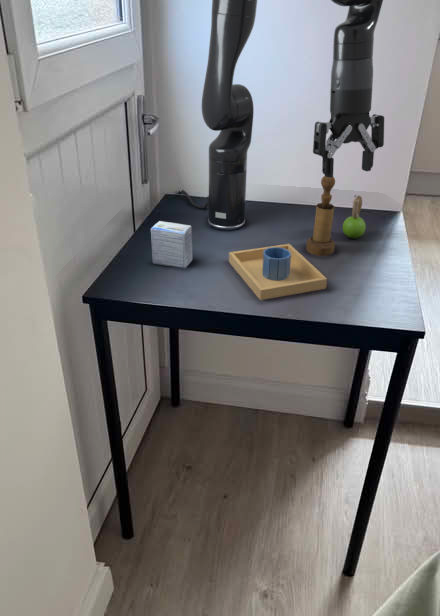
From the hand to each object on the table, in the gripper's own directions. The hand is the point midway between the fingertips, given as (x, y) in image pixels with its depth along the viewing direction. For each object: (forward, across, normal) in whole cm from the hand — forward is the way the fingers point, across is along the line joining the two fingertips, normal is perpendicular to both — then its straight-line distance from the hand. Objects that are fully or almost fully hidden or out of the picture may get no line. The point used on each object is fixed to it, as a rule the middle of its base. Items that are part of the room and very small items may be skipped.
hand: (347, 173), depth 111 cm
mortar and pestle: (+21, -1, -12) cm, 24 cm away
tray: (+21, +14, -4) cm, 25 cm away
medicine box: (+19, +33, -18) cm, 42 cm away
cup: (+20, +14, -4) cm, 25 cm away
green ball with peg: (+21, -12, -16) cm, 29 cm away
